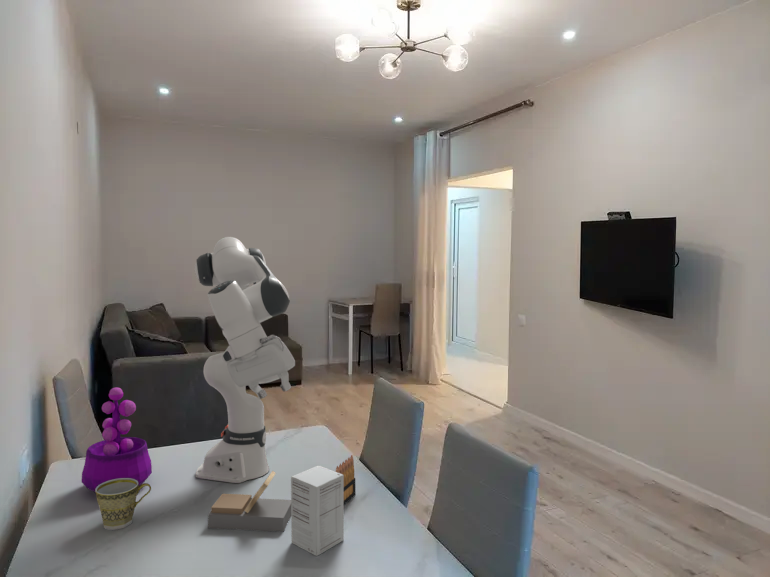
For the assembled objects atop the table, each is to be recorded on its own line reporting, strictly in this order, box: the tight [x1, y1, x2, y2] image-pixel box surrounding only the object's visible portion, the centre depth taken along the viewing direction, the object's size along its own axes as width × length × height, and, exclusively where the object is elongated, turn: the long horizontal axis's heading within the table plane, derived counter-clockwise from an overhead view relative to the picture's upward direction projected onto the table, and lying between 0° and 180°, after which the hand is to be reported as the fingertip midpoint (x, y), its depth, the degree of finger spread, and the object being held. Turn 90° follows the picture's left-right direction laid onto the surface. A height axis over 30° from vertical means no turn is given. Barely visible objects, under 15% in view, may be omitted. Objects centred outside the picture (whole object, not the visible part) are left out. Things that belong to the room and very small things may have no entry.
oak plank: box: [244, 470, 277, 513], centre depth 144 cm, size 9×8×1 cm
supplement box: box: [290, 465, 345, 557], centre depth 134 cm, size 10×9×17 cm
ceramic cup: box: [95, 478, 152, 531], centre depth 142 cm, size 13×10×10 cm
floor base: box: [207, 493, 291, 533], centre depth 144 cm, size 20×10×5 cm, turn 86°
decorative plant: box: [81, 387, 153, 493], centre depth 162 cm, size 19×18×30 cm
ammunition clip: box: [335, 454, 357, 506], centre depth 156 cm, size 11×2×12 cm, turn 157°
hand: (275, 393), depth 136 cm, fingers open, 8 cm apart
